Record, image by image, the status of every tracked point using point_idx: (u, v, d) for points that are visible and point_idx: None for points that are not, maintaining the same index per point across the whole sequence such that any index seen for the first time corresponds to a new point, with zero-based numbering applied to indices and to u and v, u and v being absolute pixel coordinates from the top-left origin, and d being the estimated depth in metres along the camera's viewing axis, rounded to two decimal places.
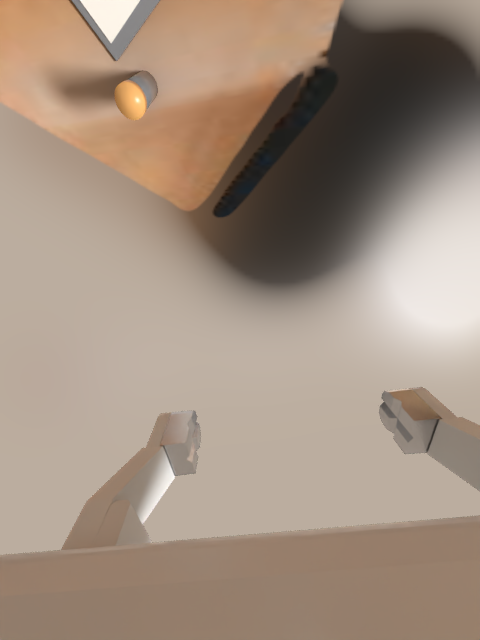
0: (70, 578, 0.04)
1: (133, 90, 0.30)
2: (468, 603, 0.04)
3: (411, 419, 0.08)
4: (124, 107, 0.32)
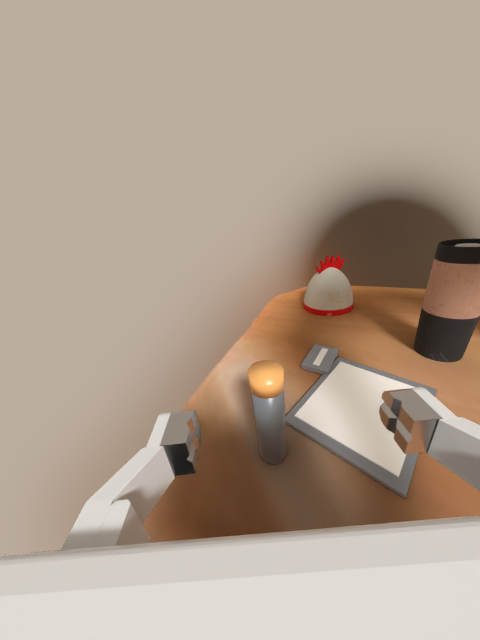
0: (70, 578, 0.04)
1: (278, 373, 0.23)
2: (468, 603, 0.04)
3: (411, 419, 0.08)
4: (258, 367, 0.25)
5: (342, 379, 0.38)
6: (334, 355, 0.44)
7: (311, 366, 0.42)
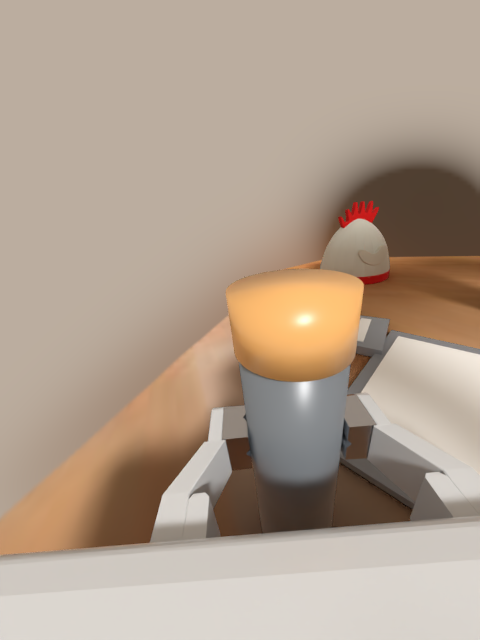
0: (70, 578, 0.04)
1: (345, 285, 0.06)
2: (468, 603, 0.04)
3: (347, 425, 0.08)
4: (263, 279, 0.07)
5: (414, 363, 0.21)
6: (383, 327, 0.27)
7: None
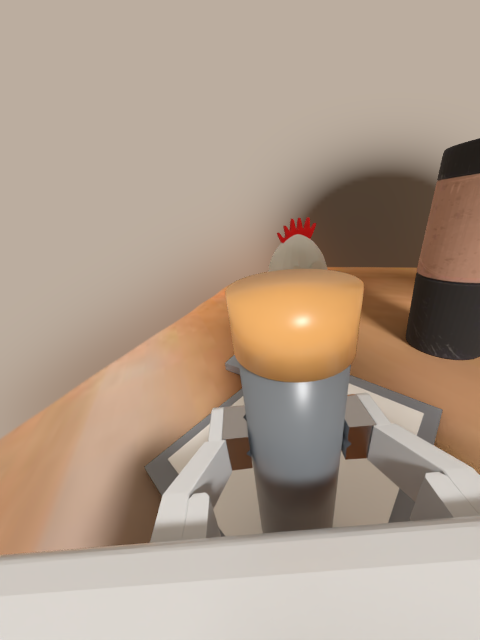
0: (70, 578, 0.04)
1: (345, 285, 0.06)
2: (468, 603, 0.04)
3: (347, 425, 0.08)
4: (263, 279, 0.07)
5: None
6: None
7: None
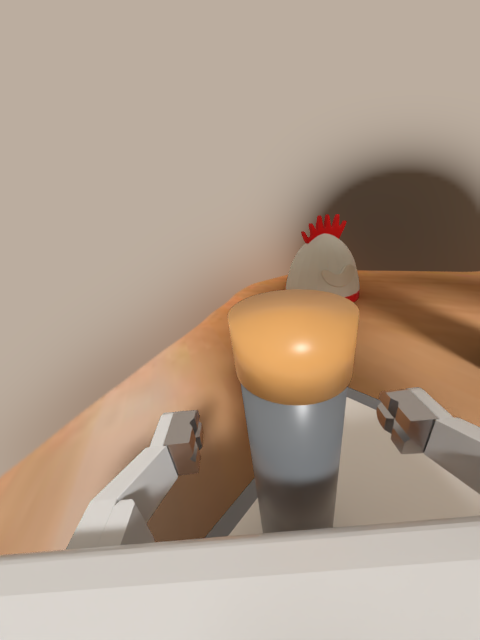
0: (70, 578, 0.04)
1: (341, 312, 0.06)
2: (468, 603, 0.04)
3: (408, 419, 0.08)
4: (263, 302, 0.08)
5: None
6: None
7: None
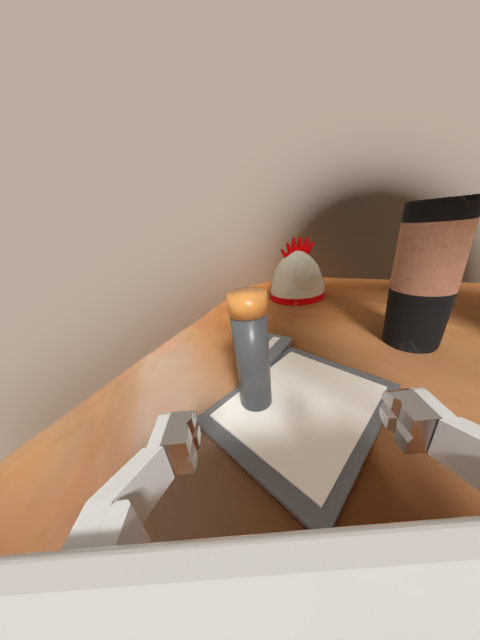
0: (70, 578, 0.04)
1: (260, 293, 0.20)
2: (468, 603, 0.04)
3: (411, 419, 0.08)
4: (238, 291, 0.22)
5: (286, 372, 0.30)
6: (284, 344, 0.36)
7: None
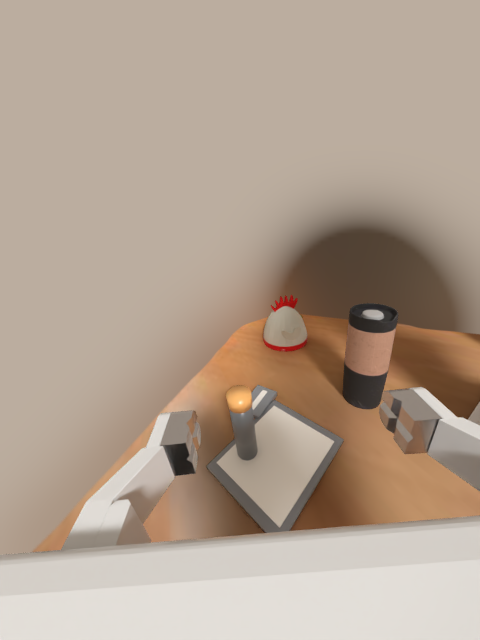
0: (70, 578, 0.04)
1: (247, 396, 0.33)
2: (468, 603, 0.04)
3: (411, 419, 0.08)
4: (234, 390, 0.35)
5: (269, 425, 0.43)
6: (270, 398, 0.49)
7: None
